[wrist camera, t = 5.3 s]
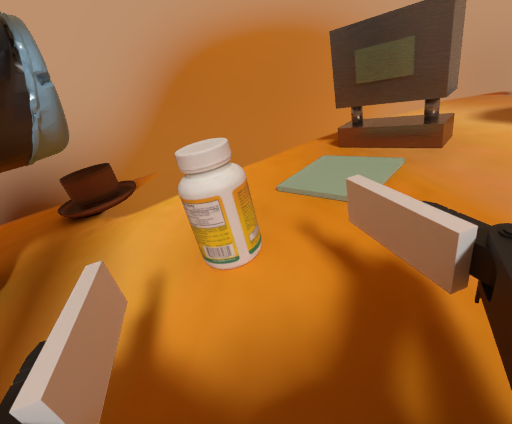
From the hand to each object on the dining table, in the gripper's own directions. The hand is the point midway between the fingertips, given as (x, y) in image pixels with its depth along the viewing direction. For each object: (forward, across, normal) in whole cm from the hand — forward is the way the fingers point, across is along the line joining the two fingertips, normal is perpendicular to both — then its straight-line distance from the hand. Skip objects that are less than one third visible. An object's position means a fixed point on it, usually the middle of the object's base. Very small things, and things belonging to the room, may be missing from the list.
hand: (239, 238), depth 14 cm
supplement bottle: (+8, 0, -6) cm, 10 cm away
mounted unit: (+22, +27, -6) cm, 35 cm away
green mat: (+16, +15, -6) cm, 23 cm away
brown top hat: (+35, -18, -6) cm, 39 cm away
